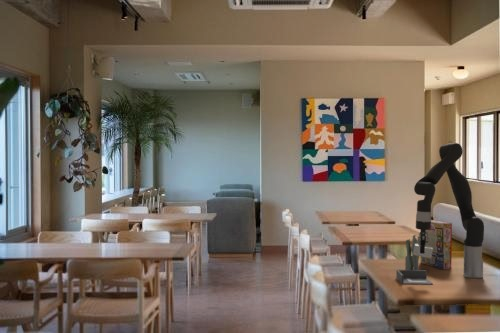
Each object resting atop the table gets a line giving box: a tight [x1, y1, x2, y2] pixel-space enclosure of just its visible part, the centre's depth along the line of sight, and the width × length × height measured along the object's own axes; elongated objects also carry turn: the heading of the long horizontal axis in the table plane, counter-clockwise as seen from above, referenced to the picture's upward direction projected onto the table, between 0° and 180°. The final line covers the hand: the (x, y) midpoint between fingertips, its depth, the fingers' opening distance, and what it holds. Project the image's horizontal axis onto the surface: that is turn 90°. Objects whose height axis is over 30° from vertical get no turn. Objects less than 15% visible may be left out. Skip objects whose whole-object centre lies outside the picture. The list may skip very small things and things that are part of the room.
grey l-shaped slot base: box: [395, 269, 433, 286], centre depth 288 cm, size 16×13×5 cm
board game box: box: [420, 219, 453, 270], centre depth 326 cm, size 20×6×27 cm, turn 23°
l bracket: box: [413, 244, 433, 258], centre depth 286 cm, size 9×7×5 cm
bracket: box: [404, 234, 420, 270], centre depth 313 cm, size 28×7×20 cm, turn 152°
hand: (422, 252), depth 284 cm, fingers closed on l bracket
